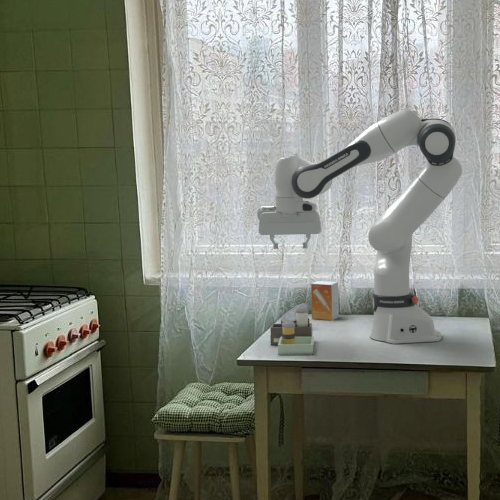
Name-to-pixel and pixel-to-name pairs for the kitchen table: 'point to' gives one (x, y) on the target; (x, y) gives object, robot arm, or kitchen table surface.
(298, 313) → the cylinder
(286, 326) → the fuse
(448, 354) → the kitchen table surface
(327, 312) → the small box
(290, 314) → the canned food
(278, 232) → the robot arm
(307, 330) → the fuse block
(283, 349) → the parts tray
